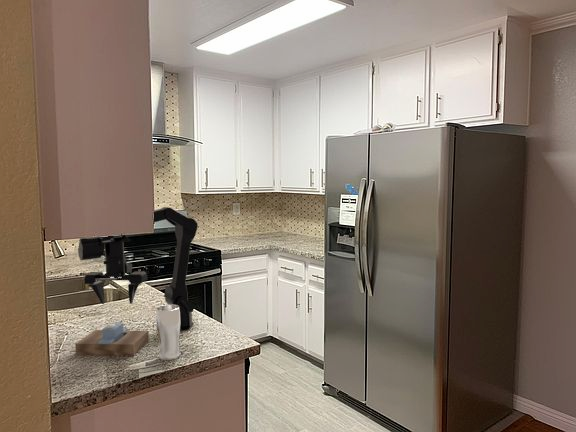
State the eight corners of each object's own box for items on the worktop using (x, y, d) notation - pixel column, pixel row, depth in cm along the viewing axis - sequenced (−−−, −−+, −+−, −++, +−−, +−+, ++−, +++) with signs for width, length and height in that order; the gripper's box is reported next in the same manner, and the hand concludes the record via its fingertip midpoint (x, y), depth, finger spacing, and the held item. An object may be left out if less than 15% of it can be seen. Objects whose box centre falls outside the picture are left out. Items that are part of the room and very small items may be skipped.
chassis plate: (148, 341, 143) (148, 330, 143) (133, 355, 131) (133, 344, 131) (95, 340, 144) (95, 330, 144) (75, 354, 132) (75, 343, 132)
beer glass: (157, 362, 126) (155, 311, 125) (157, 353, 133) (156, 305, 132) (181, 359, 128) (180, 309, 127) (181, 350, 135) (179, 303, 133)
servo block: (128, 340, 143) (127, 317, 143) (111, 355, 131) (110, 330, 131) (116, 340, 144) (115, 317, 143) (98, 355, 132) (97, 330, 131)
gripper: (152, 251, 148) (154, 296, 149) (98, 252, 149) (100, 297, 150) (139, 257, 137) (142, 306, 138) (81, 258, 138) (84, 306, 139)
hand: (117, 303), depth 142 cm, fingers open, 9 cm apart
